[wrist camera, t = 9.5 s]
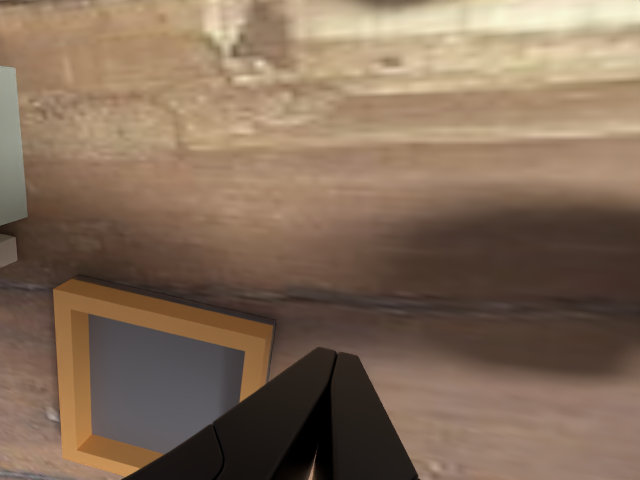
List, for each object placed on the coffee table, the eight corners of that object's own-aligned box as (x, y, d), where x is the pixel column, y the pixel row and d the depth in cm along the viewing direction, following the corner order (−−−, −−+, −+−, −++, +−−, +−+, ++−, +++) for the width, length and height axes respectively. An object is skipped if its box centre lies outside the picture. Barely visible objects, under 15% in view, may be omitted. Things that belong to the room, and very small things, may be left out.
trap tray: (276, 320, 24) (265, 339, 22) (254, 482, 28) (243, 510, 26) (78, 274, 25) (53, 288, 23) (84, 435, 29) (62, 458, 27)
